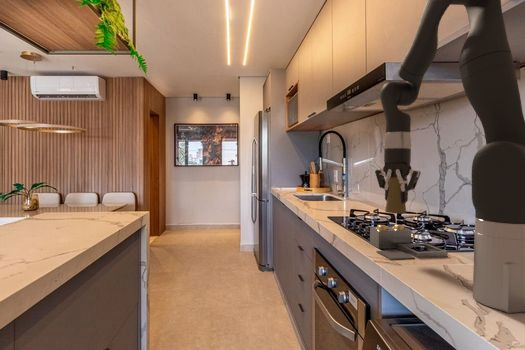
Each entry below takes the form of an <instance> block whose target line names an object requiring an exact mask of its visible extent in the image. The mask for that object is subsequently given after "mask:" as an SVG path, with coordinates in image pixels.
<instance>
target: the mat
mask: <svg viewBox="0 0 525 350" xmlns="http://www.w3.org/2000/svg"><path fill="white" fill-rule="evenodd" d="M376 253H377V254H379V255H381V256H382V257H384V258H386V259H388V260H389V261H395V260H396V261H397V260H415V259H416V257H414V256H412V255H410V254H408V253H406V252H403V251H401V250H399V249H394V250H391V249H390V250H376Z"/></svg>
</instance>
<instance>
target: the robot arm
mask: <svg viewBox="0 0 525 350" xmlns="http://www.w3.org/2000/svg"><path fill="white" fill-rule="evenodd" d="M450 5H451V6H452V5H453V6H456V5H457V6H464V7H465V10H466V13H467V19H468V22H469V23H468V25H469V26H468V27H469V28H468V29H469V30H468V33H467V37H466V39H465V41H464V44H463V46H462V48H461V50H460V54H459V58H458V69H459V73H460V78H461V82H462V87H463V91H464V93H465V96H466V97H467V99H468V102H469V104H470V105H471V107H472V109H473V110H474V112H475V114H476V115H477V117H478V120H479V121H480V123H481V126H482V128H483V132H484V137H485V139H484V140H485V143H486V144H485V145H483V146H481V147H480V148H479V149H478V150H477V151H476V153H475V154H474V156H473V159H472V165H471V202H472V205H473V208H474V211H475V212H474V213H475V215H474V216H475V218H474V219H475V220H474V246H473V273H472V275H473V276H472V297H473V299H474V300H475V301H477V302H478V303H480V304H482V305H484V306H487V307H490V308H493V309H497V310H500V311H502V312H504V313H506V314H508V313H509V314H510V313H512V314H513V313H522V312H523V313H524V312H525V118H524V117H525V116H524V112H523V106H522V100H521V93H520V89H519V84H518V80H517V79H518V78H517V73H516V67H515V63H514V59H513V55H512V50H511V48H510V43H509V40H508V35H507V31H506V24H505V20H504V16H503V15H504V14H503V9H502V0H426V3H425V6H424V7H423V10H422V14H421V16H420V19H419V20H420V21H419V23H418V26H417V29H416V32H415V34H414V38H413V40H412V42H411V45H410V47H409V48H408V50H407V51H406V54H405V56H404V58H403V59H402V62H401V64H400V66H399V68H398V70H397V74H398V77H399V78H401V79H402V80H403V81H388V82H386V83H384V84H383V86H382V87H381V91H380V94H379V95H380V96H379V98H380V103H381V105H382V109H383V114H384V119H385V136H384V145H383V146H384V149H383V151H384V152H383V153H384V154H383V161H384V166H383V167H382V168H381V169H376V170H375V177H376V179H377V183H378V186H379V188H380V189H383V190H384V200H385V202H386V203H387V198H388V192H389V186H388V179H389V178H391V177H398V179H399V183H400V184H401V186H400V187H401V191H402V192H401V193H400V195H401V203H402V204H405V205H406V203H408V200H409V199H408V197H409V194H408V193H409V191H412V190H415V189H416V186H417V184H418V181H419V178H420V177H421V174H422V173H421V171H420V170H416V169H413V168H412V166H411V162H412V161H411V157H412V154H411V153H412V136H411V123H412V121H411V119H412V118H411V114H408V113H406V112H403V111H401V110H400V109H399V107H407V106H408V107H409V106H410V105H412V104H413V103H415V102H416V101H417V100H418V96H419V93H420V89H421V85H422V82H423V79H424V76H425V74H426V73H427V71H428V70H429V68H430V66H431V65H432V63H433V61H434V60H435V57H436V55H437V51H438V46H439V45H438V44H439V38H438V37H439V34H438V33H439V26H440V22H441V20H442V18H443V16H444V14H445V12H446V11H447V10H448V8H449V7H450ZM385 175H386V178H385ZM409 175H410V179H409V180H408V176H409ZM403 179H405V181H403Z"/></svg>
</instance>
